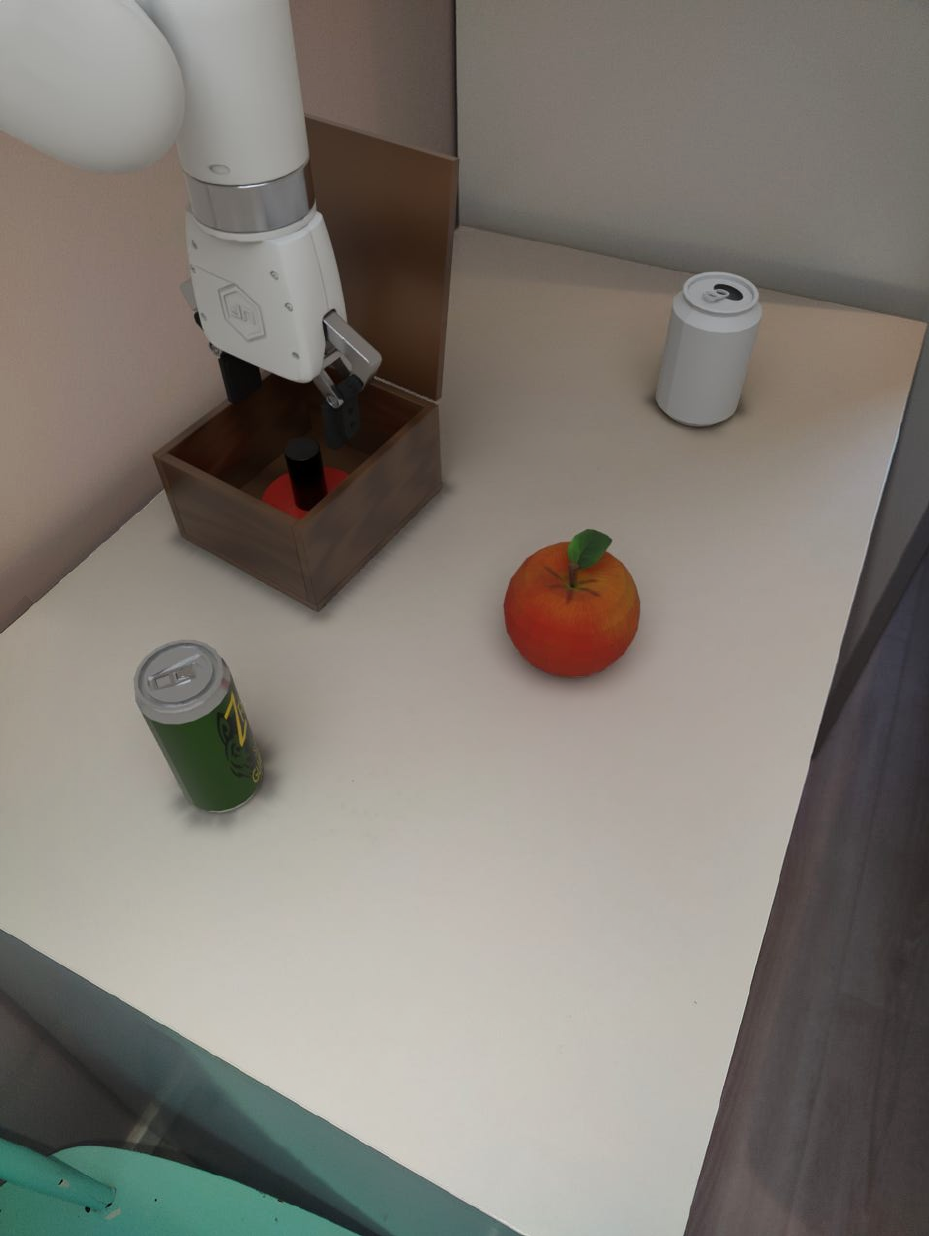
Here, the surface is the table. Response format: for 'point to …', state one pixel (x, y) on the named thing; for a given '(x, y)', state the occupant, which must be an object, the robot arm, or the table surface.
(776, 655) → the table surface
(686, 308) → the can
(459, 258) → the table surface
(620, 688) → the table surface
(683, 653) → the table surface
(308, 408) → the chest
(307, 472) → the pot lid
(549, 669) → the fruit
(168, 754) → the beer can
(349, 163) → the chest lid
